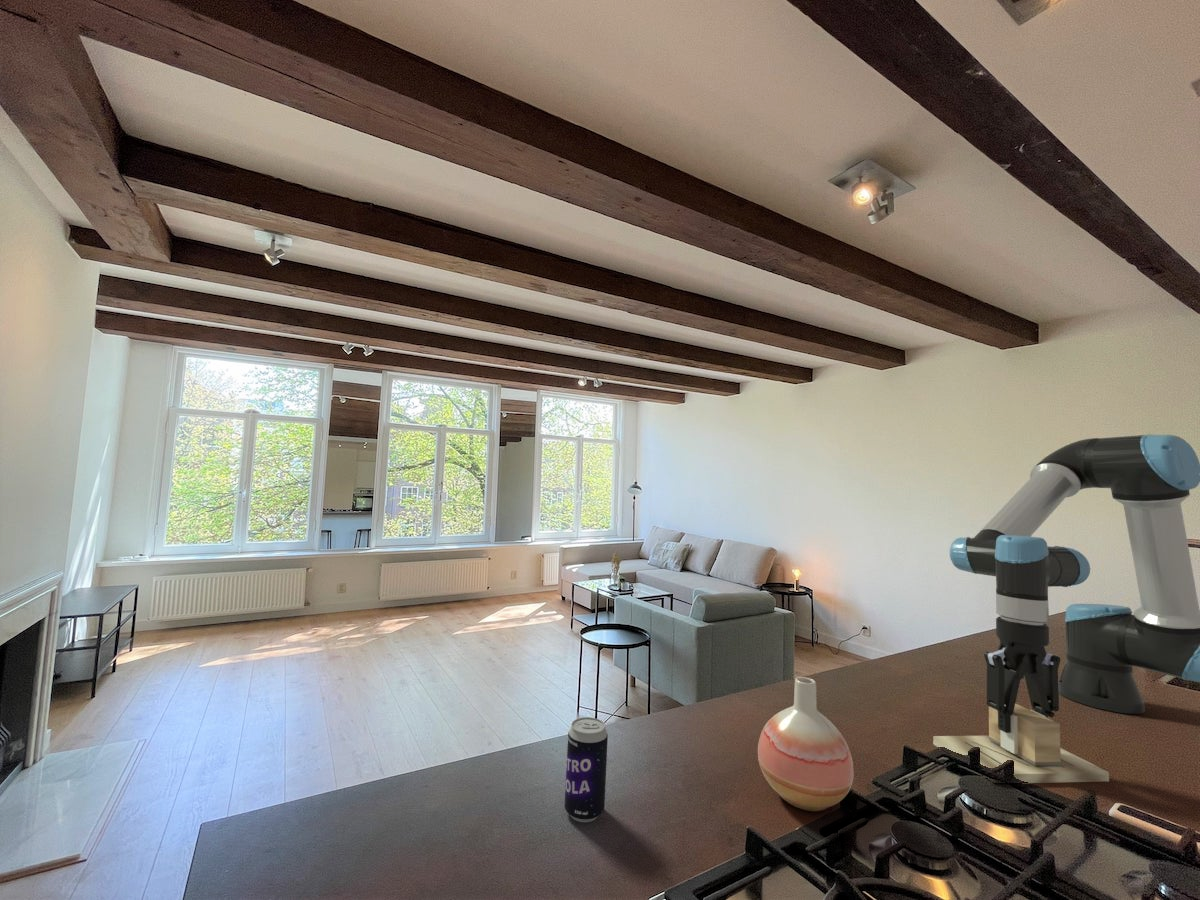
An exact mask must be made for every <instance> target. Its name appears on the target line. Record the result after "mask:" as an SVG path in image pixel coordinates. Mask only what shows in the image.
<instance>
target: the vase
mask: <svg viewBox="0 0 1200 900" xmlns="http://www.w3.org/2000/svg"><path fill="white" fill-rule="evenodd" d="M793 689H794V691H793V693H794V697H793V705H792V706H789V707H786V708H785V709H782V710H780V711H779V712H776V713H775V714H774V715H773V716H772V717H771V718H770V719H769V720H767V722H766V723H765V725H764V726H763V728H762V730H761V733H760V736H759V738H758V743H757V759H758V764H759V768H760V770H761V772H762V774H763V777H764V778H765V780H766V781H767V782H768V785H769V786H770V787H771V788H772V789H773V790H774V791H775V792H776V793H777V794H778V795H779V796H780V797H781V798H782V799H783V801H784V802H786V803H788V804H789V805H791V806H793V807H795V808H797V809H800V810H804V811H808V812H822V811H824V810H827V809H828V808H830V807H833V806H835V805H838V804H839V803H840V802H841V801H842V800H844V799H845V798H846V796H847V795H848V794H849V792H850V790H851V788H852V785H853V783H854V775H855V772H854V763H853V762H854V761H853V758H852V754H851V750H850V748H849V746H848V743H847V742H846V739H845V738H844V736H843V734H842V733H841V732H840V731H839V729H838V728H837V727H836V726H835V725H834V724H833V723H832V721H830V720H829V719H828V718H827V717H826V716H825V715H824V714H822V713H821V712H819V710H818V709H817V682H816V681H815V680H814V679H812V678H810V677H805V676H798V677H795V679H794V688H793Z"/></svg>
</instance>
